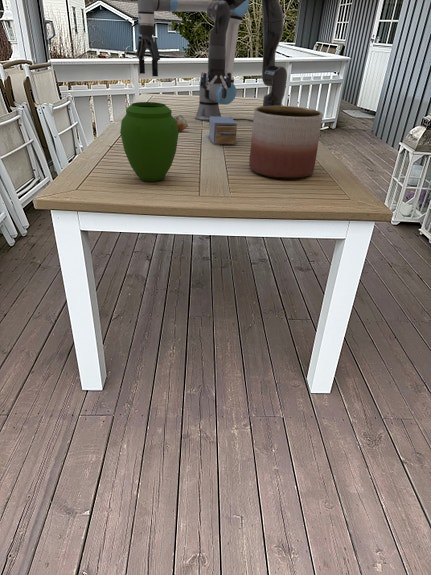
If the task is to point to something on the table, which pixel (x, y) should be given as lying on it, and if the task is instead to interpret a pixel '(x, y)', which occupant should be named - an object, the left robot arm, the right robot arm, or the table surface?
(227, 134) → the drawer
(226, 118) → the cabinet
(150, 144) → the vase
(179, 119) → the seashell
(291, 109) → the planter
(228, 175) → the table surface
